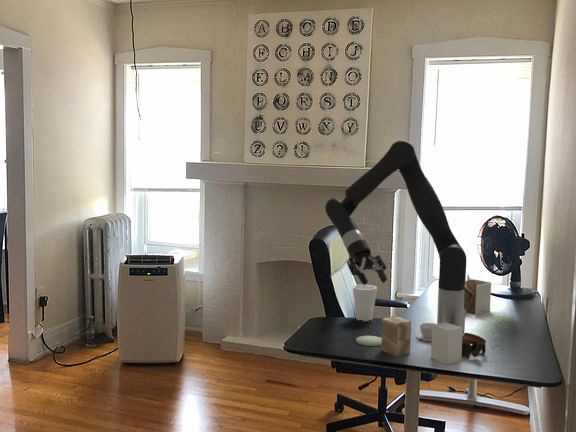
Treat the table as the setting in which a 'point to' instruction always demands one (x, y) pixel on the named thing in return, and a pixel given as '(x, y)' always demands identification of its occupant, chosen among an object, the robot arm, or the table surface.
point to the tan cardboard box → (396, 336)
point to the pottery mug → (476, 345)
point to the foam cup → (364, 301)
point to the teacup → (425, 332)
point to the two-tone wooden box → (477, 296)
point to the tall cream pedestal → (446, 343)
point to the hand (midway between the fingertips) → (375, 282)
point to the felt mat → (369, 340)
